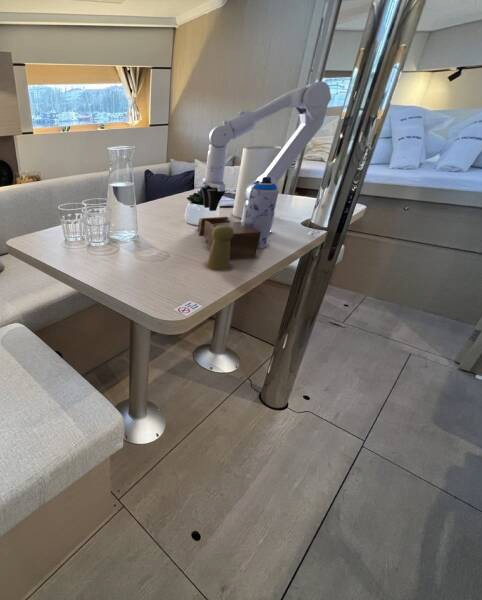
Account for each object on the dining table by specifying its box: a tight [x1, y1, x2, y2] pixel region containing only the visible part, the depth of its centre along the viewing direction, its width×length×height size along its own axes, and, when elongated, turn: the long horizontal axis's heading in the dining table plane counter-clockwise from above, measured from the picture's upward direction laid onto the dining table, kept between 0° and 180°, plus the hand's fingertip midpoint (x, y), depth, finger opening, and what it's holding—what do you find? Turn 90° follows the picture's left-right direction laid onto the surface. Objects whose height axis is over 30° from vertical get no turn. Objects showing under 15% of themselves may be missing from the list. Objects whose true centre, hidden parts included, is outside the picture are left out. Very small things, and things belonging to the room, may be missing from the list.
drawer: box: [198, 216, 232, 241], centre depth 104 cm, size 14×9×6 cm, turn 4°
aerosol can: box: [244, 177, 279, 249], centre depth 95 cm, size 8×8×20 cm
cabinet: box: [206, 221, 261, 260], centre depth 93 cm, size 11×10×8 cm
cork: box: [206, 226, 234, 271], centre depth 84 cm, size 6×6×11 cm
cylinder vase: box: [232, 145, 282, 219], centre depth 122 cm, size 12×12×25 cm
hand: (210, 209), depth 110 cm, fingers open, 4 cm apart
